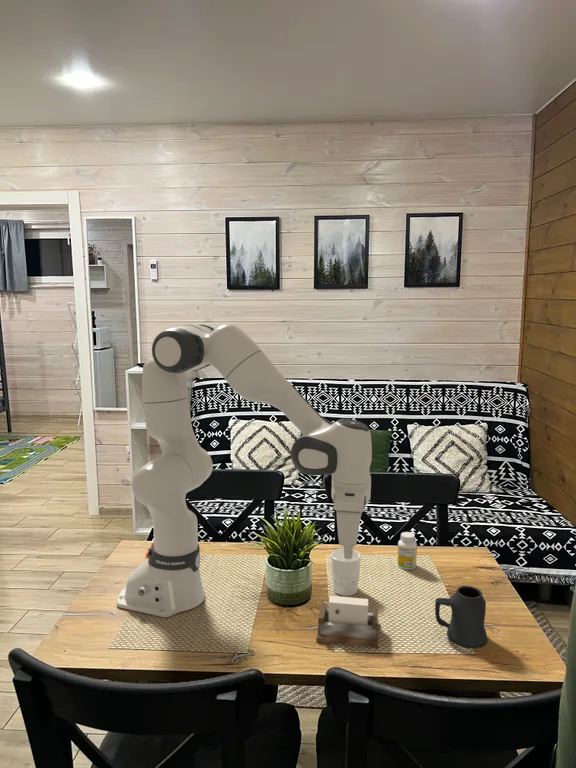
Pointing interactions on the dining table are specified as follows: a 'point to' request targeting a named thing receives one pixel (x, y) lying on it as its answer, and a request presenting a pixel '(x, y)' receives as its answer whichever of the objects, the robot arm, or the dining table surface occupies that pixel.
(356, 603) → the white block with hole
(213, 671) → the dining table surface
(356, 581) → the white cup
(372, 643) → the brown wooden rack
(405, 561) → the supplement bottle
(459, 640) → the mug
